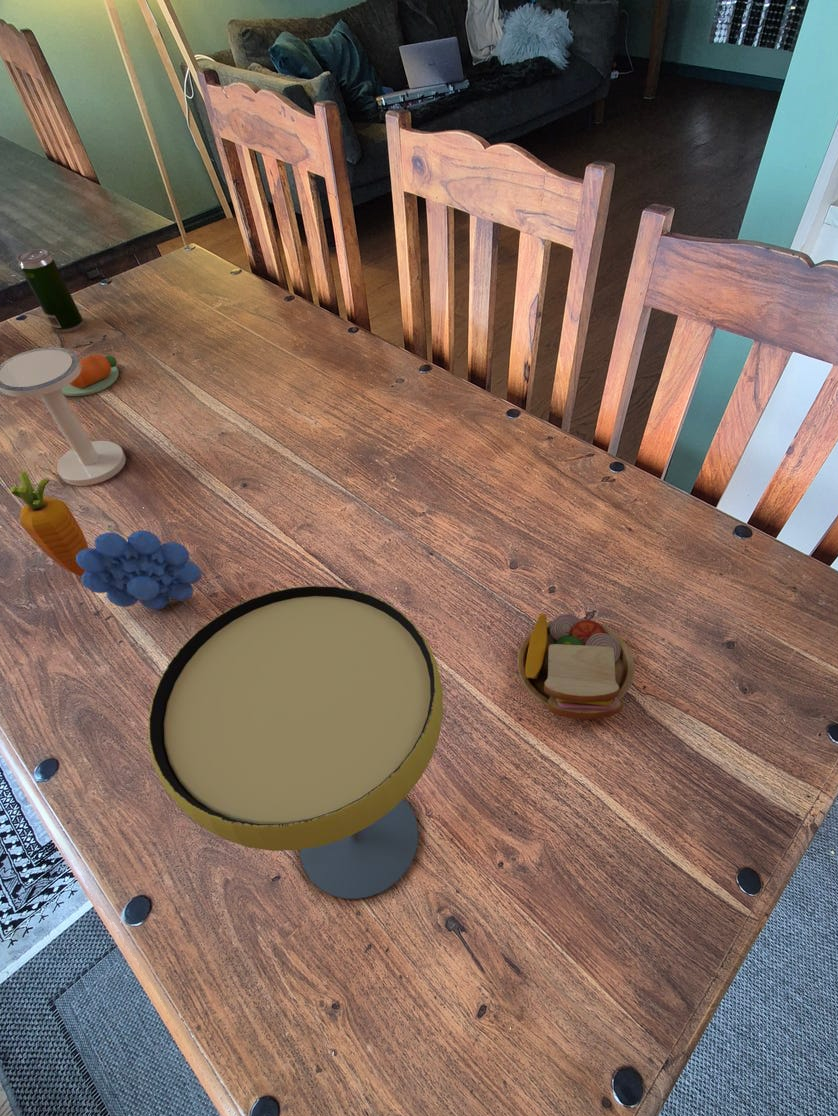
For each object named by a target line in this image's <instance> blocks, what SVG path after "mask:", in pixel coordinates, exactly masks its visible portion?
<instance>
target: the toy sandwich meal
mask: <svg viewBox="0 0 838 1116" xmlns="http://www.w3.org/2000/svg"><path fill="white" fill-rule="evenodd" d="M516 664H517V670H518V675H519V678H520V680H521V682H522V684H523V685H524V687H525V688H526V690H527V691H528V692H529V693H530V694H531V696H533V697H534V698H535V699H537V700H538V701H539V702H541V703H543V704H544V705H545V706H547V710H548V711H549V712H550V713H552V714H554V715H557V716H559V717H563V718H564V717H565V718H569V719H576V720H594V719H595V720H596V719H597V720H598V719H602V718H603V719H604V718H609V717H612V716H615V715H617V714H620V712H621V711H622V707H623V703H622V701H621V699H622V698H623V697H624V696H625V695H626V694H627V692H628V691H629V689H630V688H631V686H632V684H633V681H634V677H635V660H634V657H633V654H632V652H631V649H630V648H629V646H628V645H627V643H626V642H625V641H624V639H623V638H621V636H620V635H619V634H618V633H616V631H614V630H612V629H611V628H609V627H608V626H605V625H604V624H602V623H600V622H597V621H595V620H592V619H587V618H582V617H581V618H580V617H578V616H577V615H575V614H572V613H562V614H559V615H557V616H556V617H555V618H554V619H553V620H549V621H547V614H546V613H540V614H539V615H538V618H537V620H536V622H535V625H534V627H533V629H532V631H530V633H528V634H527V636H525V639H524V640H522V643H521V645H520V647H519V649H518V653H517V659H516Z"/></svg>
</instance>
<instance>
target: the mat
mask: <svg viewBox="0 0 838 1116" xmlns="http://www.w3.org/2000/svg"><path fill="white" fill-rule="evenodd" d="M119 374H120V373H119V369H118V367H117V365H116V366H115V367H111V373H110V375H109V376H108V377H106V378H104V379H102V380H100V381H97V382H95V383H93V384H91V385H89V386H86V387H84V388H76V387H73V386H72V385H70V384H68V385H66V386H65V387H63V388H61V391H62V392H63V394H64V396H65V397H66V396H67V397H83V396H89V395H90V396H91V395H93V394H96V393H99V392H102V391H104V390H105V389H107V388H109V387H110V386H112V385H113V384H114V383H115V382H116V381H117V379H118V378H119Z"/></svg>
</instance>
